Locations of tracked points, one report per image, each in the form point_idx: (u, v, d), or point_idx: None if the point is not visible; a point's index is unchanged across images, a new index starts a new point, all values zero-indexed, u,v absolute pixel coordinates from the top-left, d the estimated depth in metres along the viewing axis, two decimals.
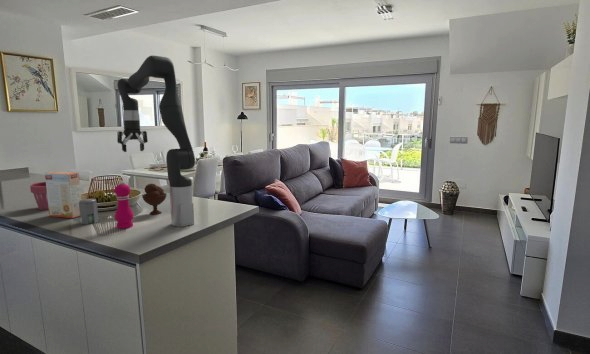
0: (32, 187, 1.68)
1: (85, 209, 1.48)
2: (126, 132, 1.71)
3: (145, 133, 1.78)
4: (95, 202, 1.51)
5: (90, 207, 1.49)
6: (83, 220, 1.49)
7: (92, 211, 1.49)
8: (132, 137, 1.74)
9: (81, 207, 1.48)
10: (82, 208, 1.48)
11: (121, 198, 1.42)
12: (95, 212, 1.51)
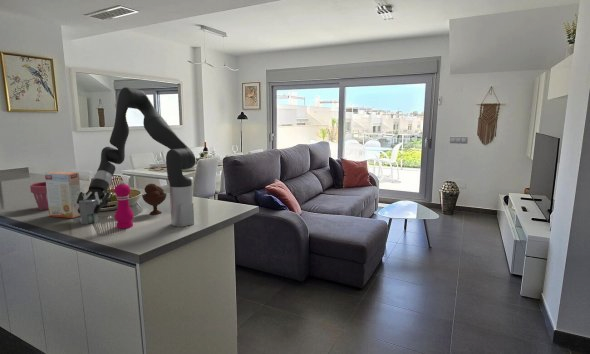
0: (32, 187, 1.68)
1: (85, 209, 1.48)
2: (87, 192, 1.56)
3: (106, 194, 1.55)
4: (95, 202, 1.51)
5: (90, 207, 1.49)
6: (83, 220, 1.49)
7: (92, 211, 1.49)
8: (92, 196, 1.54)
9: (81, 207, 1.48)
10: (82, 208, 1.48)
11: (121, 198, 1.42)
12: None
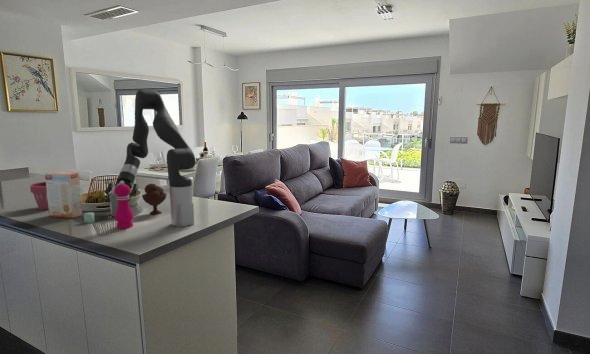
0: (32, 187, 1.68)
1: (115, 202, 1.61)
2: (116, 184, 1.68)
3: (134, 185, 1.68)
4: None
5: None
6: (113, 212, 1.62)
7: None
8: None
9: (112, 200, 1.61)
10: (113, 201, 1.61)
11: (121, 198, 1.42)
12: None
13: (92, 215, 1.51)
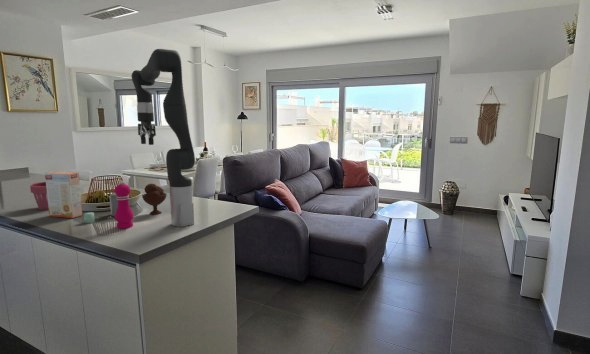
0: (32, 187, 1.68)
1: (115, 202, 1.61)
2: (141, 124, 1.74)
3: (149, 126, 1.67)
4: None
5: None
6: (113, 212, 1.62)
7: None
8: (143, 130, 1.72)
9: (112, 200, 1.61)
10: (113, 201, 1.61)
11: (121, 198, 1.42)
12: None
13: (92, 215, 1.51)
